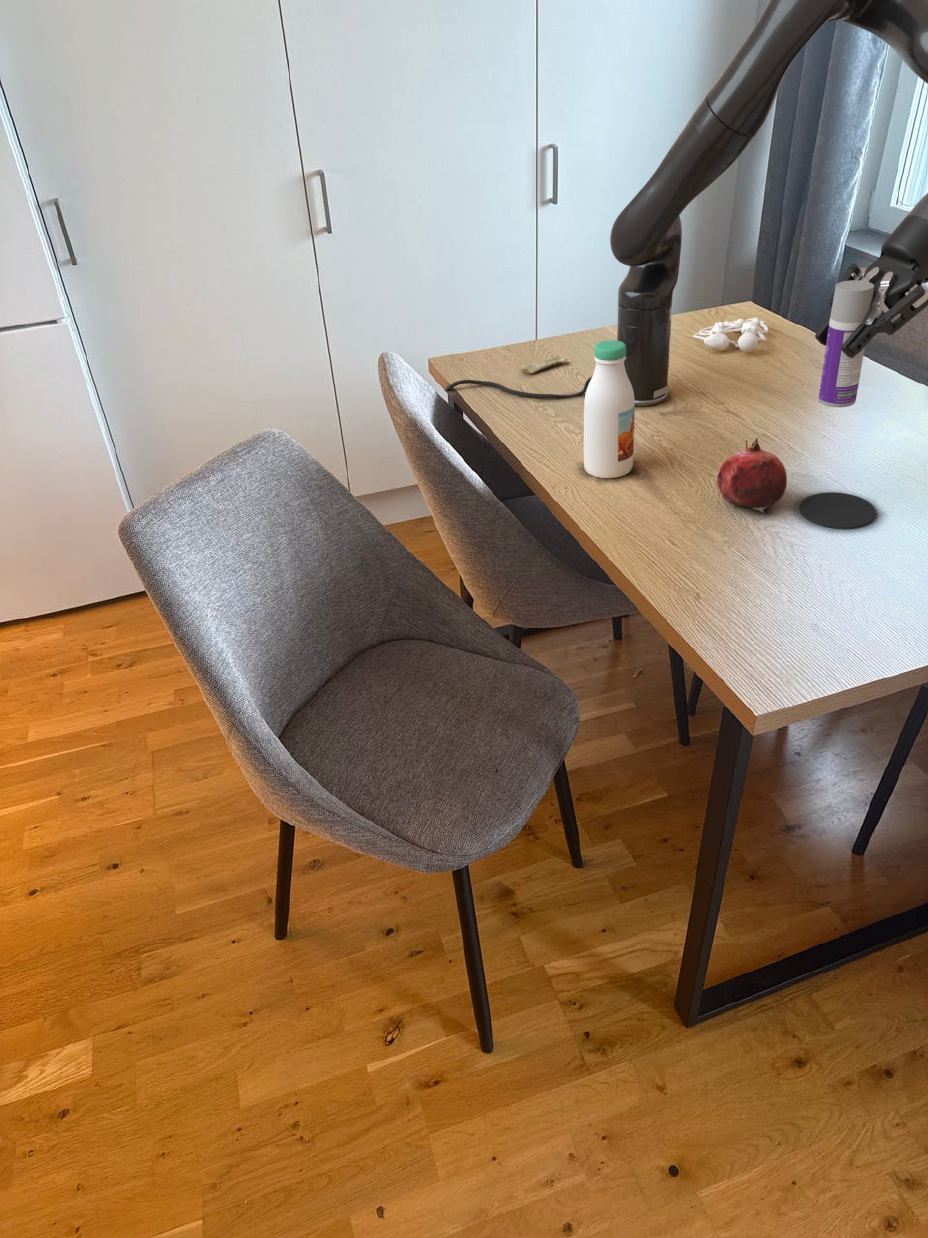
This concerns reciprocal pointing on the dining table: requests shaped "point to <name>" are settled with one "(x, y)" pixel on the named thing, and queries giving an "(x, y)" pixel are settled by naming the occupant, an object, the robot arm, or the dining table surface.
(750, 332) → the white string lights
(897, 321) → the robot arm
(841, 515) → the coaster
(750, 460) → the fruit
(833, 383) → the container
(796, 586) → the dining table surface
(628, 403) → the milk bottle
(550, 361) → the snack bar
